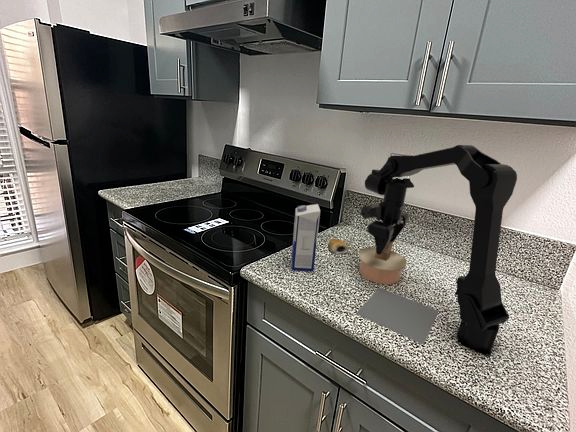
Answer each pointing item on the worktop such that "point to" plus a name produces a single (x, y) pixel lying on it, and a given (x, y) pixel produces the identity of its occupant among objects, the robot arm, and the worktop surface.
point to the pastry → (338, 246)
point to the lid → (383, 258)
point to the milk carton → (305, 237)
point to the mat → (399, 314)
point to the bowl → (379, 274)
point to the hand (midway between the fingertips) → (384, 249)
